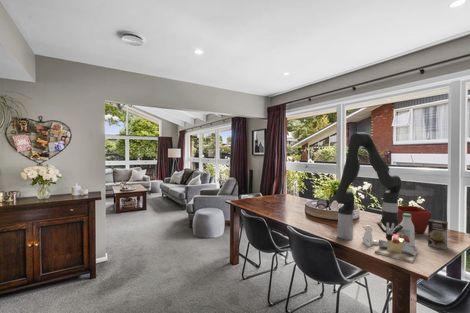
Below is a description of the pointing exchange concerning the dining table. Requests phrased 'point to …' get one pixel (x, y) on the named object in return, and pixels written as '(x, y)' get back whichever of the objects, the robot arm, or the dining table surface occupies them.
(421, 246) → the dining table surface
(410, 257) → the mounting board
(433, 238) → the coffee box
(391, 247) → the valve body
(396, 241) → the valve lever
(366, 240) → the sitting furry creature
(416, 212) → the plant pot
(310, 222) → the dining table surface
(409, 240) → the milk bottle
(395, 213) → the robot arm
